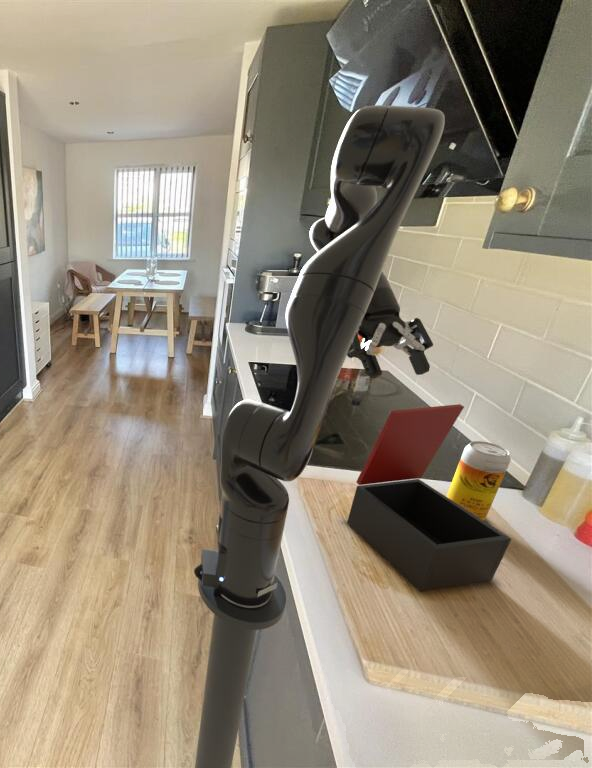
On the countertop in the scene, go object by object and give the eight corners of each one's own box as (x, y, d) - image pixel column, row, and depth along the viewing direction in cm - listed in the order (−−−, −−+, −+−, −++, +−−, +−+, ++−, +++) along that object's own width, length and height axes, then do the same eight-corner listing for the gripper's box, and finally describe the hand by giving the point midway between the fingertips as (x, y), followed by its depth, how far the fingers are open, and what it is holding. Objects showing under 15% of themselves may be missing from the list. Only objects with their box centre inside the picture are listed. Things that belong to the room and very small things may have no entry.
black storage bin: (491, 581, 63) (511, 538, 60) (420, 591, 62) (436, 548, 59) (405, 516, 78) (418, 478, 75) (346, 523, 77) (356, 485, 73)
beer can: (456, 524, 75) (483, 456, 70) (434, 503, 81) (458, 439, 75) (492, 526, 74) (523, 458, 69) (468, 505, 80) (494, 440, 74)
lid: (464, 406, 65) (460, 404, 66) (395, 413, 64) (391, 410, 65) (421, 478, 74) (417, 475, 75) (359, 485, 73) (355, 482, 74)
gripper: (343, 288, 72) (375, 369, 66) (419, 282, 72) (457, 363, 67) (320, 310, 79) (347, 385, 73) (389, 305, 79) (422, 379, 74)
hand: (400, 374), depth 70 cm, fingers open, 8 cm apart
